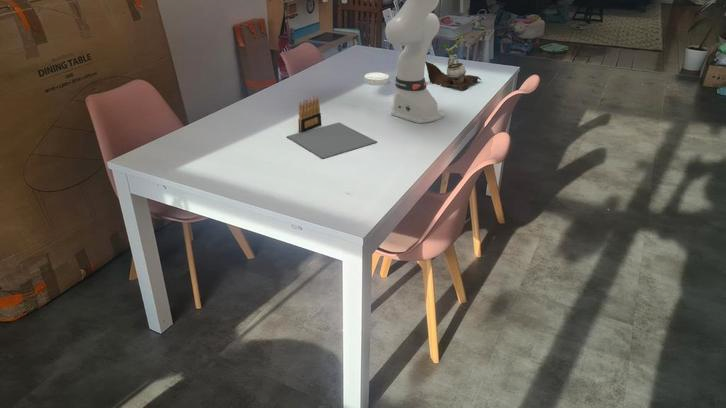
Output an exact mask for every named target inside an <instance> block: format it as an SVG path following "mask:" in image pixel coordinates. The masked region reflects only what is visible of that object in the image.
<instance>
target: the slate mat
mask: <svg viewBox="0 0 726 408" xmlns="http://www.w3.org/2000/svg"><path fill="white" fill-rule="evenodd" d="M286 138H287V139H289V140H290V141H292V142H294V143H296V144H297V145H299V146H300V147H302V148H303V149H305V150H306V151H309V152H310V153H312V154H314V155H315V156H317V157H318V158H320V159H322V160H325V159H329V158H332V157H335V156H338V155H342V154H344V153H347V152H348V153H349V152H351V151H353V150H358V149H360V148H364V147H367V146H370V145H371V146H372V145H375V144H377V143H378V141H377V140H376V139H373V138H371V137H369V136H367V135H365V134H363V133H361V132H360V131H357V130H355V129H353V128H351V127H349V126H347V125H345V124H343V123H341V122H339V121H338V122H335V123H330V124H327V125H323V126H319V127H315V128H313V129H310V130H308V131H305V132H297V133H294V134H290V135H286Z"/></svg>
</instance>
